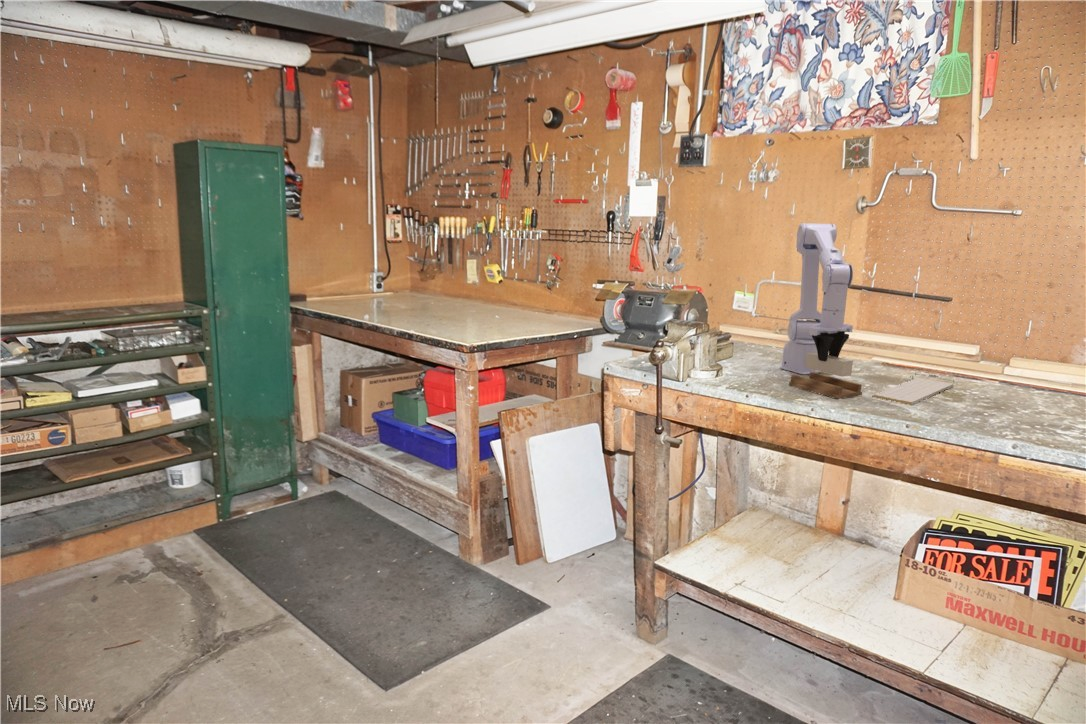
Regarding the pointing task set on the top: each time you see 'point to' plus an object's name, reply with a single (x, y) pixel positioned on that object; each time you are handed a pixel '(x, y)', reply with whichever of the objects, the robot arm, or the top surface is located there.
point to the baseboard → (914, 390)
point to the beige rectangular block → (829, 364)
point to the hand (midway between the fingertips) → (827, 360)
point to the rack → (826, 385)
